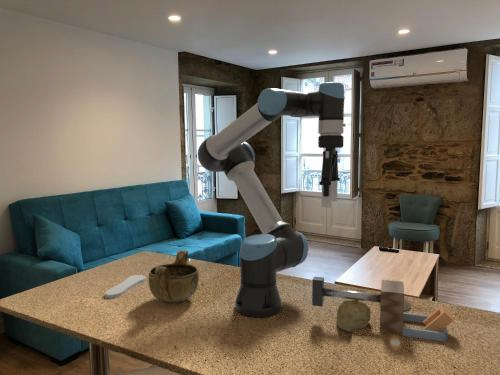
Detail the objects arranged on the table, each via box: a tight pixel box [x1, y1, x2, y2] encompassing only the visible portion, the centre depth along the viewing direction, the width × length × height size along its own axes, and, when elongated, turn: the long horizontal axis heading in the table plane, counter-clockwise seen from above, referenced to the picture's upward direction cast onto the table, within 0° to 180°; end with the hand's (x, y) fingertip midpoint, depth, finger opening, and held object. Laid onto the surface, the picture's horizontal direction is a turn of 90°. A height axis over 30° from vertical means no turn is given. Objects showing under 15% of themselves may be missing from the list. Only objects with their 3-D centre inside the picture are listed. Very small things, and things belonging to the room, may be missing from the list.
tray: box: [402, 312, 449, 343], centre depth 114 cm, size 11×11×4 cm
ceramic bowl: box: [148, 249, 200, 305], centre depth 139 cm, size 22×17×15 cm
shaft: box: [311, 276, 381, 307], centre depth 119 cm, size 22×3×8 cm, turn 71°
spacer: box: [422, 305, 454, 332], centre depth 112 cm, size 3×5×7 cm
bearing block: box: [379, 279, 405, 336], centre depth 116 cm, size 6×10×13 cm, turn 161°
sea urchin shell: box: [378, 296, 411, 311], centre depth 131 cm, size 9×8×8 cm
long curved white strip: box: [104, 274, 147, 299], centre depth 152 cm, size 7×22×2 cm, turn 165°
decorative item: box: [336, 299, 372, 333], centre depth 118 cm, size 10×10×10 cm
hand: (329, 204), depth 126 cm, fingers open, 13 cm apart
